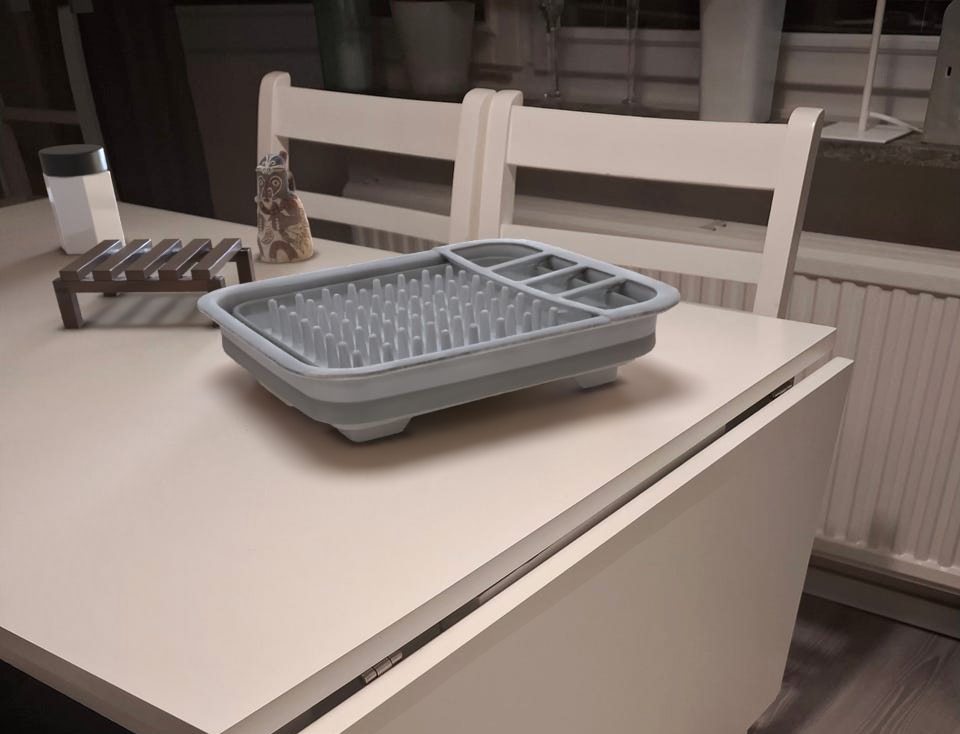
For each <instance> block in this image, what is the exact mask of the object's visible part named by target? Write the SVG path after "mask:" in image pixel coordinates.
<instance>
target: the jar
mask: <svg viewBox="0 0 960 734" xmlns="http://www.w3.org/2000/svg"><path fill="white" fill-rule="evenodd" d="M38 157H39V161H40V165H41V169H42V175H43V179H44V183H45V187H46V191H47V195H48V199H49V203H50V207H51V211H52V215H53V219H54V222H55V227H56V230H57V235H58V238H59V242H60V247H61V248H62V250H63V251H64V252H65V253H66V254H67V255H83V254H84V253H86V252H87V251H89V250H90V249H92V248H93V247H95V246H96V245H98V244H99V243H100V242H102V241H103V240H119V239H121V241H122V246H123V247H125V246H126V245H127V244H126V241H125V236H124V231H123V226H122V222H121V217H120V213H119V209H118V203H117V199H116V195H115V190H114V185H113V181H112V177H111V172H110V171H109V170H108V164H107V159H106V154H105V151H104V147H103V146H101V145H99V144H89V143H88V144H87V143H82V144H81V143H79V144H64V145H62V144H61V145H56V146H55V145H54V146H49V147H45V148H42V149H40V150H39V151H38Z"/></svg>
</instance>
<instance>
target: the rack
mask: <svg viewBox="0 0 960 734" xmlns="http://www.w3.org/2000/svg"><path fill="white" fill-rule="evenodd" d="M253 259H254V258H253V252H252V247H247V246H246V247H243V243H242V238H241V237H227V238H226V237H223V239H221V240H220V241H219V242H218V243H217V244H216V245H215V246H214V247H213V243H212V238H193V239H192V240H190V241H189V242H188V243H187V244H186V245H184V247H183V243H182V239H181V238H163V239H162V240H160V241H159V242H158V243H157V244H156V245H155V246H153V243H152V239H151V238H137V239H136V238H135V239H132V241H130V242H128V243H127V244H126V246H125V247H123V246H122V241H121V239H119V240H103V241H102V242H100V243H99V244H98V245H96V246H95V247H93V248H92V249H90V250H89V251H87V252H86V253H84V254H80V256H78V257H77V258H75V259H74V260H73V261H71V262H70V263H68V264H67V265H65V266H64V267H62V268H61V269H60V270H58V273H59V276H58V277H56V278H54V279H53V280H52V287H53V289H54V294H55V297H56V301H57V305H58V309H59V312H60V317H61V320H62V324H63V327H64V329H66V330H67V329H69V330H70V329H76V330H77V329H80V328H82V326H84V325H85V323H84V318H83V315H82V310H81V307H80V302H79V299H78V295H77V294H102V295H103V297H104V298H105V297H107V298H108V297H109V298H110V297H111V298H112V297H118V296H120V295H121V294H122V293H210V292H212V291H215V290H218V289H222V288H225V287H227V284H226V279H225V275H217V274H218V273H219V272H220V271H221V270H222V269H223V268H224V267H225V266H226V265H227V264H228V263H235V265H236V271H237V277H238V285H239V284H244V283H249V282H255V281H257V280H256V274H255V273H256V272H255V266H254V260H253ZM189 270H190V274H191V275H185V274H186V273H187V272H188V271H189ZM155 272H157V276H156V275H155V276H154V275H153V274H154V273H155ZM123 273H124V275H125V276H120V275H121V274H123ZM90 274H91V275H92V276H88V275H90ZM152 275H153V276H152ZM212 323H213V328H214V329H215V328H219V329H220V325H219V324H217V323H216V322H215V321H213V320H212Z"/></svg>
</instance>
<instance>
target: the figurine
mask: <svg viewBox="0 0 960 734" xmlns="http://www.w3.org/2000/svg"><path fill="white" fill-rule="evenodd" d="M288 154H289V153H288V152H287V151H285V150H280V151H279V154H272V153H270V154H265V156H264V157H263V158H262V159H261V161H259V163H258V165H257V166H256V168H255V173H256V175H257V185H258V195H256V196H255V197H254V202H255V204H257V209H256V217H257V219H256V220H257V222H256V223H257V238H256V243H257V247H258V250H259V256H260V260H261V261H262V262H265V263H272V264H274V263H275V264H278V263H283V264H284V263H296V262H302V261H305V260H308V259H310V258H311V257H313V254H314V246H313V245H314V244H313V238H312V234H311V228H310V224H309V220H308V217H307V213H306V210H305V207H304V205H303V202H302V201H301V199H300V198H299V196H298V195H297V194H296V184H295V180H294V174H293V173H292V172H291V171H290V169H289V168H287V160H288Z"/></svg>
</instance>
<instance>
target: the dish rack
mask: <svg viewBox="0 0 960 734" xmlns="http://www.w3.org/2000/svg"><path fill="white" fill-rule="evenodd" d="M681 299H682V296H681V292H680V291H679V290H678V289H677V288H676V287H674V286H672V285H670V284H668V283H665V282H663V281H660V280H658V279H655V278H653V277H650V276H647V275H645V274H641V273H638V272H636V271H633V270H629V269H627V268H623V267H621V266H617V265H615V264H611V263H609V262H606V261H602V260H598V259H595V258H592V257H590V256H586V255H583V254H580V253H576V252H574V251H571V250H567V249H564V248H561V247H558V246H555V245H552V244H547V243H544V242H541V241H536V240H531V239H523V238H485V239H476V240H469V241H463V242H457V243H452V244H446V245H441V246H435V247H432V248H431V249H429V250H424V251H419V252H412V253H406V254H401V255H396V256H389V257H385V258H379V259H373V260H367V261H363V262H356V263H351V264H346V265H339V266H334V267H329V268H322V269H317V270H312V271H305V272H301V273H300V272H299V273H293V274H289V275H283V276H277V277H272V278H267V279H260V280H256V281H255V282H249V283H244V284H239V283H238V284H234V285H229V286H226V287H225V288H222V289H218V290H215V291H212V292H210V293H208V292H206V293H205V294H203V295H201V296H200V297H199V298H198V299H197V301H196V308H197V309H198V310H199V312H201V313H202V314H204V315H205V316H206V317H208V318H209V319H210V320H212V322H213V321H215V322H216V323H217V324H219V325H220V328H219V329H220V330H219V331H220V335H221V346H222V349H223V352H224V353H225V354H226V355H227V356H228V357H229V358H230V359H232V360H233V361H234V362H236V364H237V365H239V366H240V367H241V368H243V369H244V370H245V371H247V372H248V373H249V374H251V376H253V377H255V379H256V380H257V382H258V383H259V384H260V385H261V386H262V387H264V388H265V389H266V390H267V391H269V392H270V393H271V394H272V395H274V396H275V398H278V399H279V400H280V401H282V402H283V403H284V404H285V405H287V406H289V407H294V408H295V409H297V410H299V412H302V413H303V414H304V415H306V416H307V417H309V418H310V419H312V420H314V421H316V422H320V423H325V424H329V425H331V426H332V427H334V428H336V429H337V430H338V432H339V433H340V434H342V435H343V436H345V437H346V438H347V439H349V440H350V441H351V442H355V443H363V442H368V441H372V440H375V439H379V438H384V437H387V436H391V435H395V434H399V433H402V432H403V431H404V430H405V428H406V427H407V425H408V424H409V423H410V421H411V420H412V418H414V417H416V416H420V415H425V414H428V413H433V412H437V411H441V410H444V409H449V408H452V407H455V406H456V407H457V406H459V405H463V404H467V403H471V402H476V401H480V400H483V399H487V398H491V397H495V396H499V395H503V394H507V393H511V392H515V391H520V390H523V389H527V388H531V387H532V388H533V387H536V386H540V385H544V384H547V383H552V382H557V381H560V380H565V379H569V378H572V379H573V380H574V381H575V382H576V383H577V384H578V385H579V386H580V387H581V388H583V389H588V388H591V387H596V386H600V385H605V384H608V383H613V382H615V381H617V380H618V369H619V367H621V366H624V365H627V364H630V363H632V362H634V361H635V360H636V359H638V358H640V357H644V356H646V355H647V354H649V353H650V352H652V351H653V349H654V348H655V347H656V344H657V335H656V333H657V332H656V331H657V321H658V315H660V314H661V315H662V314H663V313H666V312H668V311H669V310H671V309H673V308H674V307H676V306H677V305H679V304H680V302H681Z"/></svg>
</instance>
